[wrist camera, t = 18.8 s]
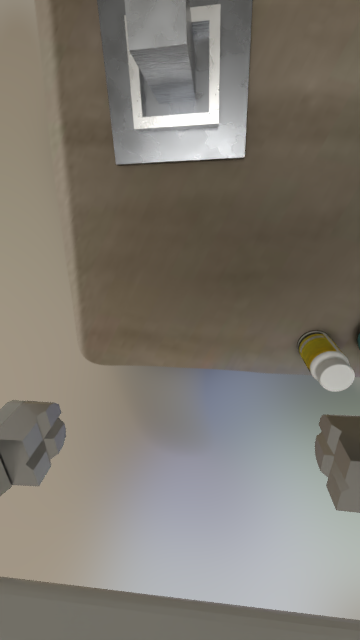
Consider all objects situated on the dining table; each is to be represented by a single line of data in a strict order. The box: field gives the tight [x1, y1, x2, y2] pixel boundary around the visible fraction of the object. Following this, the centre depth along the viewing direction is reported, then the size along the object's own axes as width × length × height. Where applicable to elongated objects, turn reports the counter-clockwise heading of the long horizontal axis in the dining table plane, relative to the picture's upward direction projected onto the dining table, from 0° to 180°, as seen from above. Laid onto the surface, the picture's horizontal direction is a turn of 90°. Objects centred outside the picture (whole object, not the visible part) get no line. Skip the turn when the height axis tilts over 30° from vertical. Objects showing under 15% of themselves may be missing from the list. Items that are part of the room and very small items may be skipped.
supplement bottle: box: [298, 331, 355, 391], centre depth 37 cm, size 5×5×8 cm
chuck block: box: [97, 0, 252, 166], centre depth 29 cm, size 15×15×3 cm
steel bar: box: [125, 0, 196, 104], centre depth 23 cm, size 4×4×12 cm
